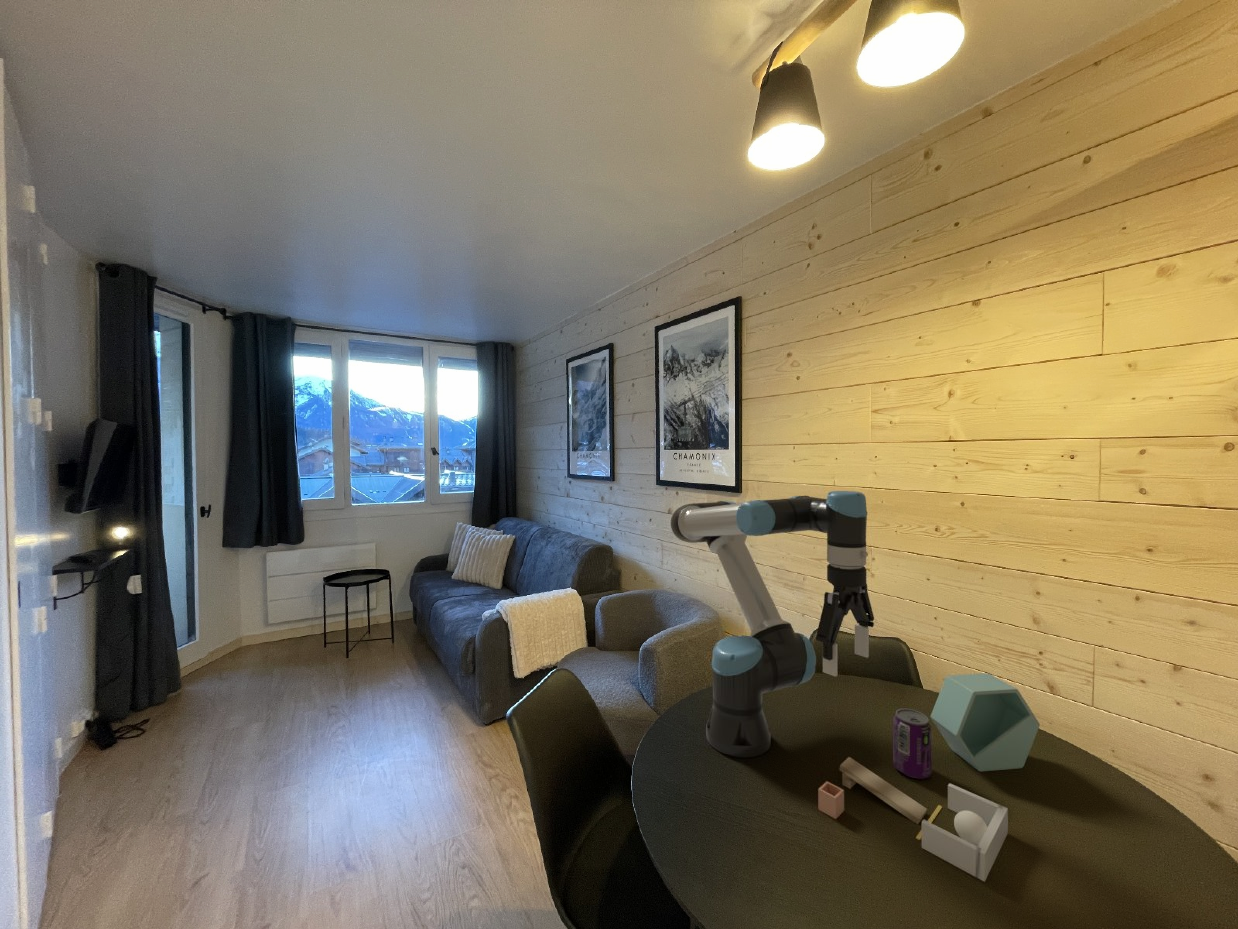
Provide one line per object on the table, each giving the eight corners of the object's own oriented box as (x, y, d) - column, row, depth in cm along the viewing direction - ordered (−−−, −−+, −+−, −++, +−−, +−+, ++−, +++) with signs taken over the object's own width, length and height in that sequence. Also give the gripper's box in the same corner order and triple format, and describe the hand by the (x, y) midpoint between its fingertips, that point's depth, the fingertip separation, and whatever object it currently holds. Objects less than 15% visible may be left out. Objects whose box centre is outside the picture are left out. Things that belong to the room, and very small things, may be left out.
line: (915, 838, 87) (915, 837, 87) (938, 805, 94) (938, 805, 94) (919, 840, 86) (919, 839, 86) (942, 807, 94) (942, 806, 94)
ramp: (839, 784, 101) (839, 764, 101) (848, 776, 104) (848, 756, 104) (919, 825, 90) (919, 803, 90) (927, 815, 92) (926, 793, 92)
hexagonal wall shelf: (992, 791, 104) (943, 716, 103) (963, 768, 112) (917, 697, 111) (1053, 744, 105) (1005, 669, 104) (1020, 724, 113) (975, 653, 112)
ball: (945, 818, 86) (958, 849, 85) (977, 821, 83) (991, 854, 82) (953, 804, 90) (965, 834, 88) (983, 806, 86) (997, 838, 85)
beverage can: (937, 783, 101) (937, 726, 100) (900, 779, 102) (899, 723, 102) (923, 762, 108) (923, 708, 107) (888, 758, 109) (888, 706, 109)
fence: (921, 847, 85) (921, 822, 85) (949, 806, 94) (949, 783, 94) (984, 882, 78) (984, 854, 78) (1007, 833, 88) (1007, 808, 87)
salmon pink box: (818, 809, 94) (818, 789, 94) (827, 801, 96) (826, 781, 96) (835, 819, 91) (835, 798, 91) (844, 810, 94) (844, 790, 94)
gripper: (833, 579, 92) (833, 689, 92) (891, 558, 107) (890, 653, 108) (797, 571, 98) (797, 675, 98) (856, 553, 113) (856, 643, 114)
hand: (846, 664), depth 103 cm, fingers open, 13 cm apart
